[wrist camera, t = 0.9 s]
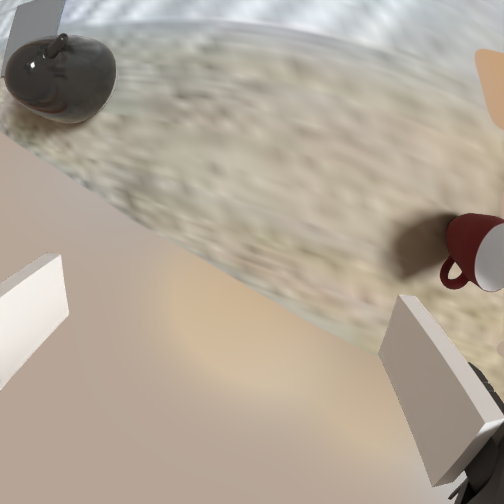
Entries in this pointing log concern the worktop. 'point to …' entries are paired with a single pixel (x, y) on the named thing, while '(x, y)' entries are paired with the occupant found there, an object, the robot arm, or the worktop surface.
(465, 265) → the mug
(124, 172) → the worktop surface
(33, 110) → the pump dispenser
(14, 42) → the mat
